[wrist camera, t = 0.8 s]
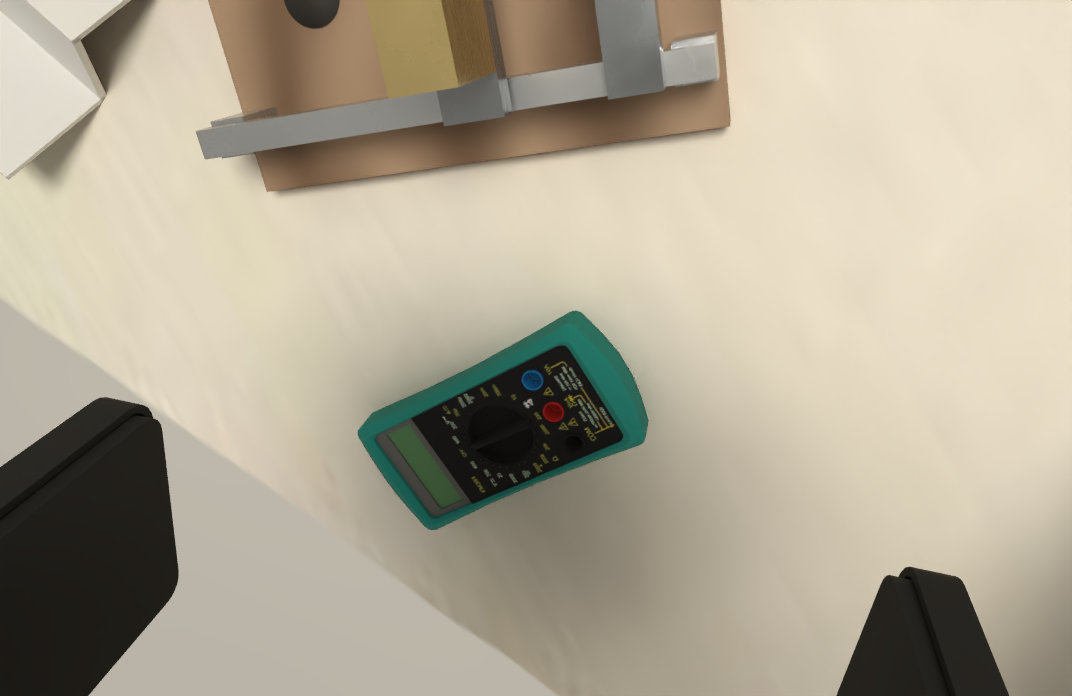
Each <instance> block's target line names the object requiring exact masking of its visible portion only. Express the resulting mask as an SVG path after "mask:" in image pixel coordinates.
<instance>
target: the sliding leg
mask: <svg viewBox="0 0 1072 696" xmlns="http://www.w3.org/2000/svg"><path fill="white" fill-rule="evenodd" d="M365 2H366V6H367V10H368V15H369V19H370V23H371V27H372V31H373V36H374V40H375V44H376V48H377V52H378V57H379V61H380V65H381V69H382V73H383V78H384V82H385V86H386V90H387V94H388V99H392V98H398V97H404V96H410V95H415V94H421V93H427V92H433V91H437V96H438V100H439V105H440V110H441V114H442V119H443V124H444V126H449V125H456V124H462V123H468V122H475V121H481V120H488V119H494V118H500V117H505V116H507V115H509V114H510V113H512V112H513V109H512V104H511V98H510V93H509V87H508V82H507V76H506V71H505V65H504V60H503V54H502V49H501V43H500V38H499V32H498V27H497V21H496V16H495V10H494V5H493V0H365Z"/></svg>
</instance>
